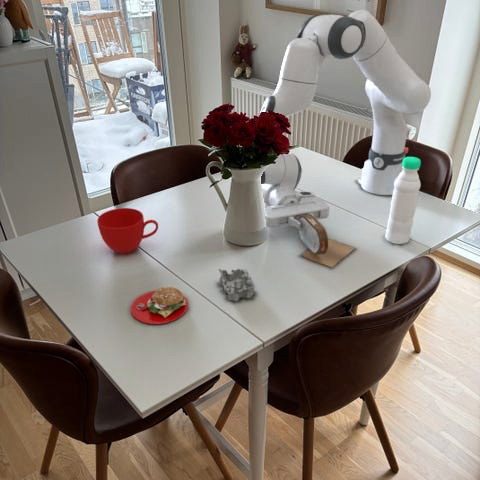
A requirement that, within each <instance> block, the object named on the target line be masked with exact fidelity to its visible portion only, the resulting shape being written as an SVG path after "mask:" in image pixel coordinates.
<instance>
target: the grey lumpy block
mask: <svg viewBox="0 0 480 480" xmlns="http://www.w3.org/2000/svg"><path fill="white" fill-rule="evenodd" d="M218 271H219V274H220V276H219V284H220V286H222V287H223V290H224V293H225V294H227V298H228V300H229V301H233V302H237V301H238V302H239V300H240V299H241V298H247V299H251V298H252V297H253V296H254V295H255V286H256V284H255V283H254V281H253V279H252V277H251V275H250V274H249V271H248V269H246V268H237V269H231V270H230V272H228V271H227V270H226V269H221V268H219V269H218Z"/></svg>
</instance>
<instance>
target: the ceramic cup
mask: <svg viewBox="0 0 480 480" xmlns="http://www.w3.org/2000/svg"><path fill="white" fill-rule="evenodd" d="M144 219H145V217H144V213H143V212H142V211H140V210H138V209H136V208H131V207H130V208H129V207H120V208H119V207H118V208H114V209H110V210H107V211H105V212H103V213H102V214H100V215H99V216H98V218H97V219H96V220H97V221H96V223H97V227H98V231H99V233H100V236H101V239H102V241H103V242H104V244H106V246H107V247H108V248H109V249H111V250H112V251H113V252H115V253H116V254H120V255H126V254H130V253H133V252H134V251H136V250H137V248H138V247H139V245H140V244H141V243H142V240H143V239H147V238H149V237H152V236H153V235H155V234H156V233H157V232H158V229H159V222H157V221H156V220H155V219H148V220H146V221H145V220H144ZM148 224H153V225H155V228H154V230H153V231H151V232H150V233H147V234H145V227H146V226H147V225H148Z"/></svg>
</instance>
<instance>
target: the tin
mask: <svg viewBox="0 0 480 480" xmlns="http://www.w3.org/2000/svg"><path fill="white" fill-rule="evenodd" d="M300 220H301V222H303V228H299V229H298V228H297V232H298V237H299V239H300V241H301V242H302V243H303V244H304V245H305V246H306V248H307V249H308V250H310V251H311V252H312V253H313V254H314V255H319V254H325V253H326V252H327V249H328V239H329V236H328V232H327V230H326V228H325V226H323V224H321V223H320V221H319V220H316V218H315V217H314V216H313V215H312V214H307V215H302V216H300V218H299V221H300Z"/></svg>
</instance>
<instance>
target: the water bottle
mask: <svg viewBox="0 0 480 480" xmlns="http://www.w3.org/2000/svg"><path fill="white" fill-rule="evenodd" d="M421 161H422V160H421V159H420V158H418V157H415V156H405V158H404V159H403V162H402V168H403V171H402V172H401V173H400V174H399V176H398V177H397V179H396V180H395V183H394V187H395V188H394V191H393V195H391V196H392V197H391V201H390V206H389V207H390V208H389V216H388V219H387V227H386V231H385V237H384V238H385V240H387V241H388V242H389V243H391V244H395V245H405V244H407V243H408V242H409V241H410V240H411V232H412V228H413V224H414V216H415V214H416V210H417V205H418V199H419V191H420V189H421V186H422V185H421V184H422V183H421V180H420V176H419V174H418V171H419V170H420V167H421V163H422V162H421Z"/></svg>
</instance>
